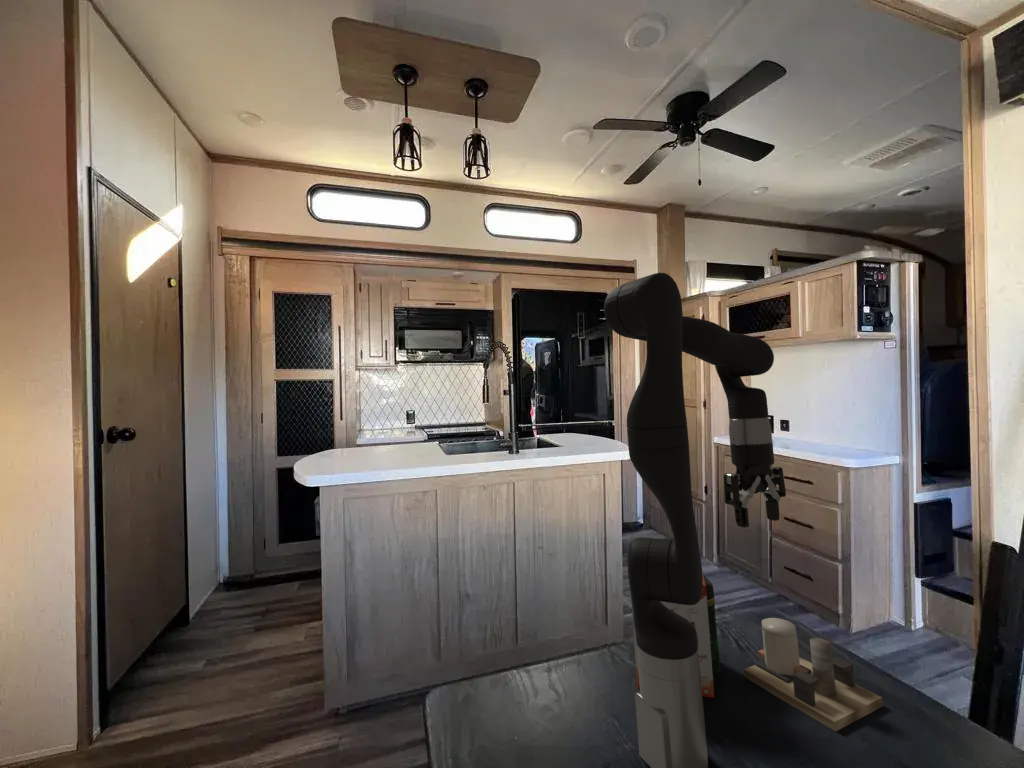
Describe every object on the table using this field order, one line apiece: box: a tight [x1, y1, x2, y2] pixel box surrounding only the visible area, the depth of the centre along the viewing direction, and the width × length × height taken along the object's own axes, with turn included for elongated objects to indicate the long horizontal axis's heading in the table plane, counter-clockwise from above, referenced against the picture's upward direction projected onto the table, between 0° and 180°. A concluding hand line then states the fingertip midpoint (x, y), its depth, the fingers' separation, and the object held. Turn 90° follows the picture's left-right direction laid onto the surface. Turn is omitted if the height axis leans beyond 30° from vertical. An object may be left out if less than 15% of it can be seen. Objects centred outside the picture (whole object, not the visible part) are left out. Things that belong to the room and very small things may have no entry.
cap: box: [757, 617, 808, 676], centre depth 88 cm, size 9×6×8 cm, turn 26°
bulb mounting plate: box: [743, 637, 884, 732], centre depth 83 cm, size 13×17×10 cm
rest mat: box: [754, 659, 812, 683], centre depth 88 cm, size 7×7×1 cm
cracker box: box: [631, 575, 715, 699], centre depth 88 cm, size 14×6×21 cm, turn 71°
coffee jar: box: [703, 574, 721, 676], centre depth 94 cm, size 10×8×19 cm
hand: (758, 523), depth 88 cm, fingers open, 8 cm apart
